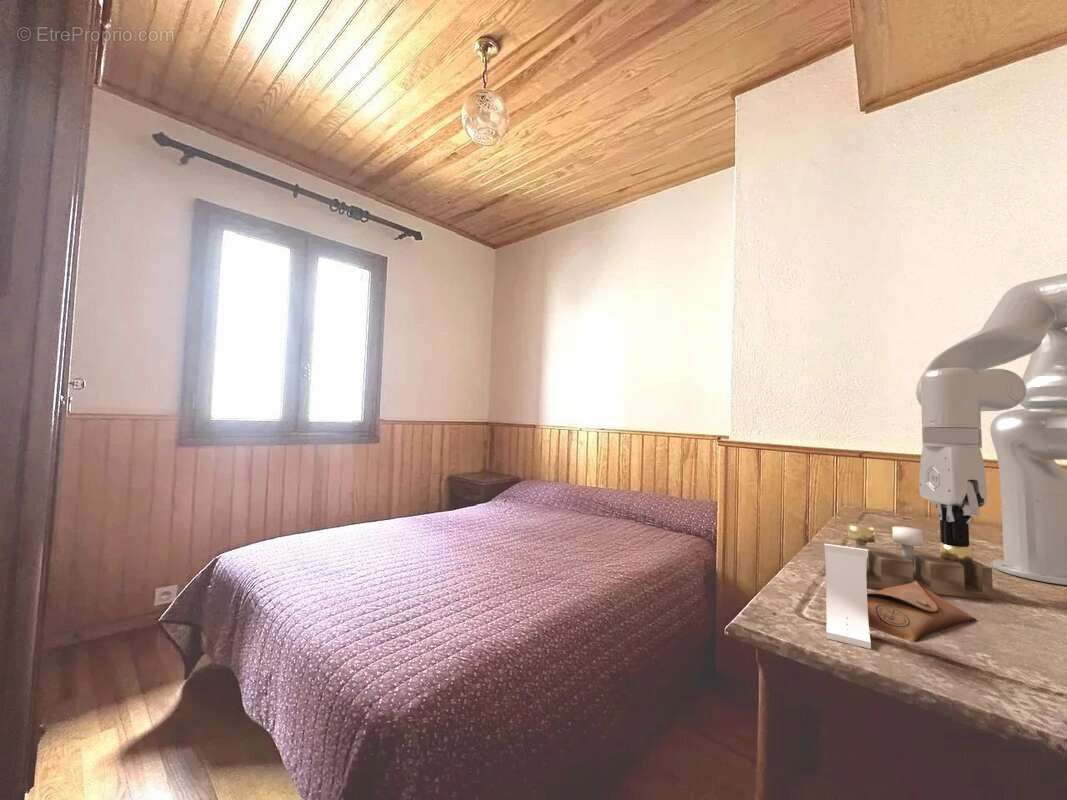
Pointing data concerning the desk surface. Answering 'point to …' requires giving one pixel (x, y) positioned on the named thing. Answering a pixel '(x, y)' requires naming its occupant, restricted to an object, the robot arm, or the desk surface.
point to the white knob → (907, 540)
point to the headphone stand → (847, 595)
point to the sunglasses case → (911, 612)
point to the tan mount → (928, 573)
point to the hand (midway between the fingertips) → (954, 544)
